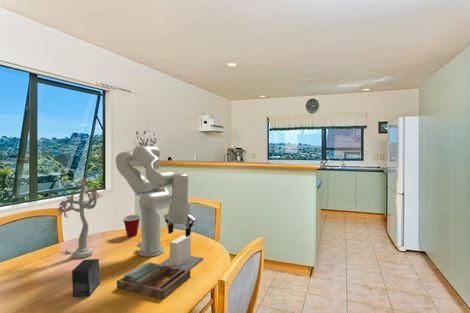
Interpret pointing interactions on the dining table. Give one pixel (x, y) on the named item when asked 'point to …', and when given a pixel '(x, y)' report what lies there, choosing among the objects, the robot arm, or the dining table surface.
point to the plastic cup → (131, 224)
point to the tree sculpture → (83, 249)
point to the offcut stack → (143, 273)
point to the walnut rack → (162, 289)
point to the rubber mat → (185, 263)
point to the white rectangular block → (180, 250)
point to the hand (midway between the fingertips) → (179, 234)
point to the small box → (85, 278)
